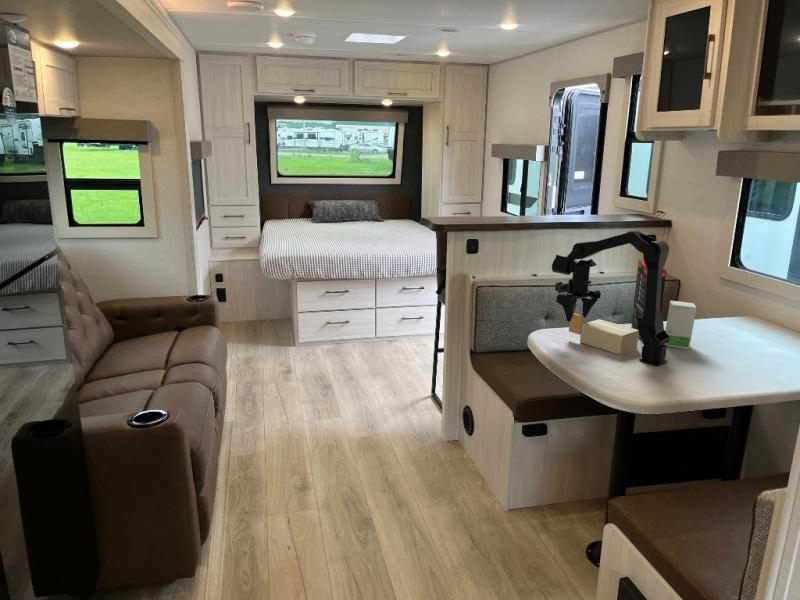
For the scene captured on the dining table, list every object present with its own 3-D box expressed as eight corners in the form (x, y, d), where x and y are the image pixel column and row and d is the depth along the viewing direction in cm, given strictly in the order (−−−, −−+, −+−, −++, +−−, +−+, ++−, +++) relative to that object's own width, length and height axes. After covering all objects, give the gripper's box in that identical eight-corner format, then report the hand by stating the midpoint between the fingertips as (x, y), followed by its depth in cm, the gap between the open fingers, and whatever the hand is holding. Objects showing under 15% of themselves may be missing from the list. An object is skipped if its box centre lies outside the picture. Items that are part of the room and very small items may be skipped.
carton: (636, 349, 207) (639, 329, 205) (620, 354, 201) (623, 335, 199) (597, 337, 219) (599, 318, 218) (581, 342, 213) (582, 323, 212)
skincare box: (664, 346, 211) (670, 304, 207) (663, 341, 217) (668, 300, 213) (690, 349, 208) (697, 307, 204) (688, 343, 214) (694, 302, 210)
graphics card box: (658, 342, 215) (669, 268, 208) (639, 340, 217) (648, 267, 209) (647, 328, 232) (656, 259, 225) (629, 326, 233) (637, 258, 226)
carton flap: (621, 354, 201) (624, 326, 199) (619, 354, 201) (622, 327, 198) (569, 337, 217) (572, 312, 215) (568, 338, 217) (570, 313, 214)
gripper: (577, 270, 221) (573, 310, 225) (545, 276, 210) (542, 318, 214) (603, 275, 212) (599, 317, 216) (571, 282, 201) (567, 326, 205)
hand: (576, 319), depth 213 cm, fingers open, 9 cm apart
